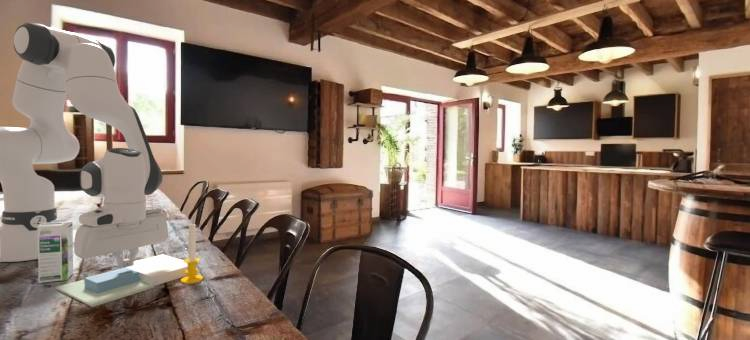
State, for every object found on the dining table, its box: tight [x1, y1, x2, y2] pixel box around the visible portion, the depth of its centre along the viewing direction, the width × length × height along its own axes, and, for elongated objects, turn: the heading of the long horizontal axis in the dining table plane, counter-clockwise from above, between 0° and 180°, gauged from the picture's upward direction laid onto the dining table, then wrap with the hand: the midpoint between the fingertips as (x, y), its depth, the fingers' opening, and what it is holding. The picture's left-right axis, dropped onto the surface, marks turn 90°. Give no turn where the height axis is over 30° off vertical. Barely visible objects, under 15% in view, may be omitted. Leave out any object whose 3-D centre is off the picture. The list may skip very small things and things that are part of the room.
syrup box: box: [37, 220, 74, 284], centre depth 91 cm, size 6×6×14 cm
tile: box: [83, 267, 139, 294], centre depth 87 cm, size 6×9×2 cm, turn 152°
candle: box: [180, 221, 204, 285], centre depth 93 cm, size 5×5×16 cm
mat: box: [54, 279, 155, 308], centre depth 86 cm, size 18×13×1 cm
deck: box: [117, 253, 188, 287], centre depth 97 cm, size 16×12×2 cm
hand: (125, 266), depth 90 cm, fingers closed
